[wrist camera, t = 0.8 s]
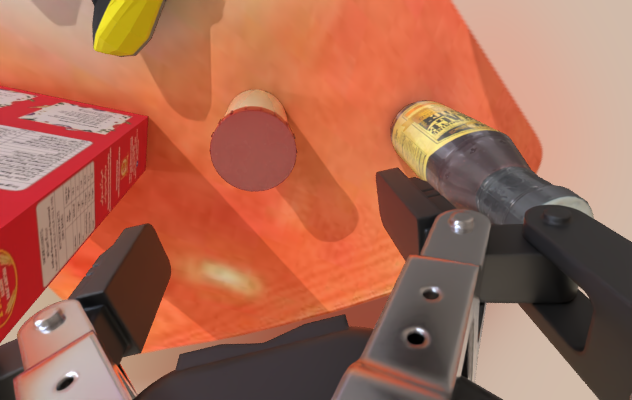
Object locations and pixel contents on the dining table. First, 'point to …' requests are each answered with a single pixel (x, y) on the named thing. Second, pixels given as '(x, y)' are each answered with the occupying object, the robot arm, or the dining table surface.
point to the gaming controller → (124, 25)
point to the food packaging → (57, 186)
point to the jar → (257, 102)
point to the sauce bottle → (473, 164)
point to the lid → (253, 148)
